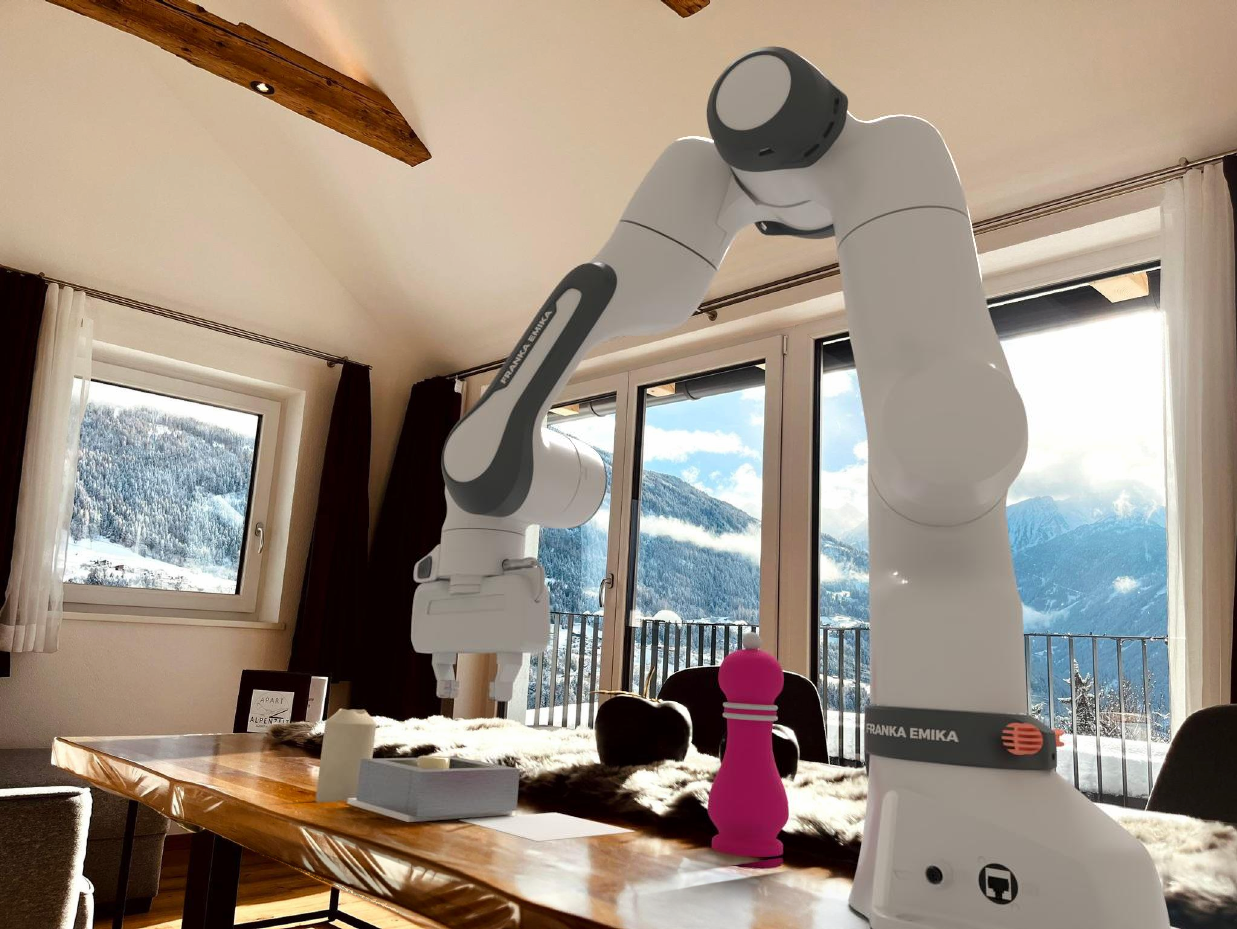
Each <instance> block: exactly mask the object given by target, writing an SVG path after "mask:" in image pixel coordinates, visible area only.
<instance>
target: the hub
mask: <svg viewBox="0 0 1237 929" xmlns="http://www.w3.org/2000/svg"><path fill="white" fill-rule="evenodd" d="M449 757H450V756H443V755H442V756H440V755H439V756H438V755H421V756H420V755H419V756H418V757H417V758H418V767H419V768H424V769H449V763H450V758H449ZM346 802H347V805H350V806H353V807H357V808H360V809H363V810H367V811H370V812H374V813H377V814H380V815H384V816H387V817H391V818H393V819H397V820H400V821H404V822H407V823H414V822H415V823H416V822H427V821H429V822H430V821H439V820H442V821H443V820H454V819H455V820H456V819H467V818H468V819H471V818H485V817H498V816H512V813H513V811H502V812H487V813H473V814H459V815H445V816H431V817H413V816H410V815H406V814H403V813H399V812H396V811H392V810H389V809H385V808H382V807H378V806H375V805H371V804H368V803H365V802H361V801H358V800H356V798H348V801H346Z"/></svg>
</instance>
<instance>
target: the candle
mask: <svg viewBox="0 0 1237 929" xmlns="http://www.w3.org/2000/svg"><path fill="white" fill-rule="evenodd" d="M376 729H377V723H376V721H375V720H374V719H373V717H372V716H371V715H370V714H369V713H368V712H367V710H366V709H354V708H353V709H346V708H345V709H344V708H339V709H338V710H337V711H336V712H335V713H333V715H331V716H330V717H329V718H328V719H327V720H326V721H325V723H324V730H323V739H322V745H321V746H322V747H321V754H320V763H319V769H318V777H317V785H316V793H315V803H331V802H335V803H337V802H348V798H357V789H358V781H359V773H360V764H361V759H373V755H374V747H375V746H374V745H375V737H376V731H377V730H376Z"/></svg>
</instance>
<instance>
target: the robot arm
mask: <svg viewBox="0 0 1237 929" xmlns="http://www.w3.org/2000/svg"><path fill="white" fill-rule="evenodd" d="M848 106H849V99H848V96H847V95H846V93H844V92H843V91H842V90H841V89H840V88H839V87H838V86H837V85H835V83H833V82H832V81H831V79H829V78H828V77H827V76H826V75H825V74H824V73H823V72H822V71H820V70H819V68H817V67H816V66H815V65H814V64H813V63H811V62H810V61H809V60H808V59H806V58H804V57H803V56H801V55H800V54H798V53H797V52H795V51H793V50H790V49H789V48H786V47H783V46H775V45H773V46H764V47H759V48H758V47H757V48H755V49H752V50H750V51H747V52H746V53H745V54H742V55H741V56H739V57H738V58H736V59H734V61H732V62H731V63H730V64H729V65H727V66H726V68H725V69H724V70H722V73H721V74H720V75H719V77H718V78H717V80H716V81H715V83H714V84H713V87H712V88H711V91H710V94H709V97H708V98H707V105H706V122H707V128H708V131H709V134H710V136H711V139H710V138H707V137H700V136H687V137H682V138H679V139H676V140H674V141H673V142H671V143H670V144H669V145H668V146H667V147H666V148H664V150H663V151H662V152H661V154H660V155H659V156H658V158H657V159H656V161H654V163H653V164H652V166H651V167H650V168H649V170H648V171H647V172H646V175H645V176H644V177H643V179H642V181H641V182H640V183H639V185H638V187H637V189H636V190H635V191H634V193H633V195H632V197H631V198H630V200H629V201H628V204H627V205H626V207H625V209H624V210H623V212H622V214H621V216H620V219H619V220H618V223H617V224H616V226H615V228H614V230H613V232H612V234H611V235H610V237H609V238H608V240H607V241H606V243H605V244H604V245H603V246H602V248H601V249H600V250H599V251H598V253H597V254H596V255H594V257H592V258H591V260H589V261H588V262H586V263H581V264H580V265H577V266H576V267H574V268H573V269H571V270H570V271H569V272H568V273H567V274H566V275H565V276H563V278H562V279H561V280H560V282H559V283H558V284H557V285H556V287H555V288H554V289H553V290H552V292H551V293H550V295H549V296H548V298H546V301H545V302H544V303H543V305H542V306H541V308H540V309H539V310H538V312H537V313H536V315H535V316H534V317H533V319H532V321H531V322H530V324H529V325H528V326H527V328H526V330H524V332H523V335H522V336H521V338H520V339H519V341H518V342H517V343H516V345H515V346H514V348H513V349H512V351H511V352H510V354H509V355H508V357H507V359H506V360H505V362H504V363H503V365H502V366H501V368H500V369H499V371H498V372H497V373H496V375H495V376H494V378H493V380H492V381H491V383H490V384H489V385H488V386H487V388H486V390H485V391H484V392H483V394H482V395H481V396H480V398H479V399H478V400H477V401H476V402H475V403H474V404H473V405H472V406H471V407H470V408H469V409H468V411H467V412H466V413H464V415H463V416H461V417H460V419H459V420H458V421H457V422H456V424H455V425H454V426H453V427H452V429H451V430H450V431H449V434H448V436H447V438H446V440H445V442H444V445H443V448H442V453H441V461H440V462H441V471H442V472H441V473H442V476H443V482H444V484H445V486H444V496H445V501H446V515H445V516H446V517H445V520H444V523H443V525H442V527H441V535H440V536H441V537H440V543H439V544H437V545H436V546H435V547H434V548H433V549H432V550H431V551H430V552H428V554H427V555H426V556H424V557H423V558H421V559H420V560H419V561H417V562H416V563H415V565H414V569H413V580H414V581H415V582H416V583H420V584H419V585H418V586H417V588H416V589H415V592H414V596H413V603H412V614H411V631H410V632H411V633H410V638H411V639H410V640H411V643H412V646H413V649H414V651H415V652H416V653H421V654H432V659H431V666H432V668H433V671H434V676H435V679H436V681H437V682H436V696H437V697H438V698H440V699H441V698H442V699H456V698H457V697H458V696H459V688H460V680H456V678H455V677H456V676H455V672H454V667H453V666H454V665H456V663H457V654H496V664H497V665H499V667H498V670H497V672H496V676H495V679H494V681H489V687H488V689H489V692H488V698H489V700H490V701H495V702H496V701H497V702H510V701H511V700H512V699H513V691H514V683H515V681H516V679H517V677H518V675H519V672H520V670H521V669H522V666H523V657H524V654H535V653H536V654H539V653H540V654H541V653H544V652H545V651H546V650H547V648H548V646H549V644H550V640H551V608H550V607H551V606H550V596H549V590H548V585H547V583H546V571H545V568H544V567H543V566H542V564H541V562H539V561H538V560H537V558H536V557H532V556H527V557H525V551H526V533H527V529H528V527H530V526H531V525H535V526H536V525H538V526H541V527H545V528H549V529H553V530H555V529H556V530H564V529H565V530H567V529H575V528H579V527H581V526H583V525H585V524H587V523H588V522H589V521H590V520H591V519H592V518H593V517H594V516H595V515H596V514H597V513H598V511H599V509H600V508H601V506H602V505H603V501H604V499H605V495H606V491H607V487H608V486H607V484H608V474H607V469H606V468H607V467H606V464H605V462H604V459H603V457H602V456H601V454H600V453H599V452H598V451H597V449H595V448H594V447H592V446H590V445H588V444H587V443H585V442H583V441H582V440H579V439H576V438H574V437H572V436H570V435H567V434H565V433H562V432H560V431H557V430H552V429H551V428H547V427H545V426H543V422H544V420H545V417H546V416H547V415H548V413H549V412H550V410H551V408H552V406H553V405H554V404H555V402H556V400H557V399H558V397H559V396H560V394H561V393H562V391H563V390H564V388H565V387H566V386H567V384H568V382H569V381H570V379H571V377H572V376H573V375H574V373H575V371H576V370H577V368H578V367H579V366H580V363H581V362H582V361H583V359H584V358H585V357H586V356H587V355H588V353H589V352H590V351H592V350H593V349H594V348H595V347H596V346H598V345H600V344H602V343H603V342H605V341H607V340H611V339H615V338H620V337H624V336H625V337H627V336H639V337H640V336H654V335H660V334H664V333H668V332H670V331H673V330H674V329H677V328H679V327H680V326H682V325H684V324H685V323H687V321H688V320H689V319H690V318H691V317H692V316H693V314H694V313H695V312H696V311H697V310H698V308H699V307H700V305H701V304H702V302H703V301H704V299H705V298H706V295H707V293H708V292H709V290H710V288H711V285H712V284H713V282H714V279H715V277H716V275H717V273H718V271H719V269H720V267H721V265H722V263H723V261H724V258H725V257H726V255H727V253H728V251H729V249H730V247H731V245H732V244H733V242H734V240H735V238H736V237H737V236H738V234H739V233H740V232H741V231H742V230H743V229H745V228H746V227H749V225H752V224H754V226H755V227H756V228H757V230H758V231H759V232H760V233H761V234H762V235H764V236H770V237H771V236H773V237H775V236H777V237H778V236H779V237H781V236H782V237H783V236H789V237H790V236H791V237H795V238H800V239H801V238H802V239H809V240H823V239H829V238H832V237H835V243H836V253H837V261H838V265H839V266H838V267H839V271H840V272H839V274H840V279H841V284H842V285H841V287H842V293H843V300H844V306H845V313H846V320H847V327H848V334H849V341H850V345H851V350H852V353H853V360H854V364H855V370H856V374H857V375H856V376H857V381H858V385H859V386H858V387H859V392H860V398H861V404H862V411H863V416H864V422H865V428H866V440H867V520H868V521H867V522H868V523H867V526H868V529H867V530H868V538H867V539H868V586H869V587H868V589H869V590H868V592H869V593H868V598H869V698H870V699H869V703H870V704H867V705H865V706H864V717H863V718H864V719H863V720H864V721H863V722H864V724H863V726H864V727H863V754H864V755H863V756H864V766H865V771H866V776H867V778H868V779H867V780H868V781H867V795H866V807H865V815H864V823H863V833H862V838H861V845H860V851H859V856H858V862H857V866H856V870H855V875H854V879H853V882H852V886H851V890H850V891H849V892H850V893H849V896H848V900H847V901H848V904H849V906H851V907H852V908H853V909H854V910H855V911H857V912H859V913H860V914H862V915H864V916H865V917H866V918H867V919H868V920H869V926H870V928H872V929H1180V928H1178V927H1175V926H1171V923H1170V917H1169V913H1168V908H1167V903H1166V899H1165V895H1164V891H1163V886H1162V882H1161V879H1160V876H1159V872H1158V870H1157V868H1156V865H1155V861H1154V860H1153V858H1152V856H1151V853H1150V852H1149V850H1148V849H1147V847H1146V846H1145V845H1144V844H1143V842H1141V840H1140V839H1139V838H1137V837H1136V836H1135V835H1134V834H1132V833H1131V832H1130V831H1129V830H1127V828H1125V827H1124V826H1122V825H1121V824H1120V823H1119V822H1117V820H1115V819H1114V818H1113V817H1111V816H1110V815H1108V814H1107V813H1106V812H1105V811H1104V810H1103V809H1102V808H1100V807H1099V806H1098V805H1096V804H1095V803H1094V802H1093V801H1091V800H1090V799H1089V798H1088V797H1087V796H1086V795H1085V794H1083V793H1082V792H1081V791H1080V790H1078V789H1077V788H1076V787H1074V786H1073V785H1072V784H1071V783H1070V782H1069V781H1068V780H1066V779H1065V778H1064V776H1062V775H1060V773H1058V772H1057V771H1056V770H1054V769H1055V768H1058V751H1057V750H1058V748H1059V747H1060V748H1061V747H1064V746H1065V742H1063V741H1061V740H1060V737H1062V736H1063V735H1064V734H1065V731H1064V730H1062V729H1052V728H1050V726H1047V725H1046V724H1044V723H1043V722H1042V721H1040V720H1039V719H1037V718H1035V717H1034V716H1032V715H1031V714H1028V701H1027V700H1028V697H1027V696H1028V694H1027V679H1026V677H1027V676H1026V656H1025V636H1024V635H1025V634H1024V614H1023V613H1024V612H1023V610H1024V609H1023V604H1022V599H1021V596H1020V593H1019V589H1018V584H1017V580H1016V579H1017V578H1016V574H1015V568H1014V561H1013V555H1012V554H1013V553H1012V547H1011V544H1010V543H1011V540H1010V533H1009V526H1008V525H1009V524H1008V519H1007V518H1008V516H1007V499H1008V494H1009V490H1010V489H1009V488H1010V487H1011V485H1013V483H1014V481H1015V480H1016V479H1017V478H1018V476H1019V475H1020V473H1021V471H1022V469H1023V467H1024V464H1025V462H1026V458H1027V454H1028V449H1029V448H1028V447H1029V423H1028V417H1027V412H1026V407H1025V404H1024V401H1023V399H1022V397H1021V394H1020V392H1019V391H1018V388H1017V387H1016V385H1015V382H1014V379H1013V375H1012V372H1011V368H1010V366H1009V363H1008V360H1007V358H1006V354H1005V351H1004V349H1003V347H1002V343H1001V342H1000V339H999V336H998V334H997V331H996V329H995V326H994V323H993V320H992V318H991V314H990V310H989V306H988V303H987V302H988V301H987V298H986V294H985V288H984V282H983V278H982V273H981V267H980V262H979V258H978V257H979V256H978V253H977V246H976V242H975V236H974V232H973V225H972V222H971V217H970V213H969V212H970V211H969V207H968V203H967V198H966V197H965V193H964V189H963V185H962V183H961V180H960V176H959V174H958V170H957V168H956V165H955V162H954V160H953V158H952V155H951V153H950V151H949V149H948V147H947V145H946V143H945V140H944V139H943V137H942V135H941V132H939V130H938V129H937V128H936V127H935V126H934V125H932V124H931V123H930V122H929V121H927V120H926V119H923V118H921V117H918V116H913V115H907V114H905V115H904V114H895V115H888V116H884V117H883V116H882V117H880V118H877V119H874V120H869V121H863V120H860V119H859V120H858V119H857V118H855V117H854V116H853V115H852V114H851V113H850V112H849V111H848V109H849V108H848ZM1057 747H1058V748H1057Z"/></svg>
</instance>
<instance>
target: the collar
mask: <svg viewBox="0 0 1237 929" xmlns="http://www.w3.org/2000/svg"><path fill="white" fill-rule="evenodd" d="M448 757H449V758H450V763H449V769H424V768H419V767H418V758H419V757H396V758H395V757H391V758H372V759H361V764H360V773H359V781H358V789H357V798H356V800H358V801H361V802H365V803H368V804H371V805H375V806H378V807H382V808H385V809H389V810H392V811H396V812H399V813H403V814H406V815H410V816H413V817H431V816H445V815H459V814H473V813H487V812H502V811H512V812H513V811H517V809H518V808H517V807H518V795H519V784H520V783H519V782H520V770H521V769H520V768H516V767H512V766H506V765H502V764H501V765H500V764H496V763H495V764H494V763H489V762H484V761H479V760H474V759H468V758H465V757H464V758H463V757H457V756H448Z"/></svg>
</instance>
